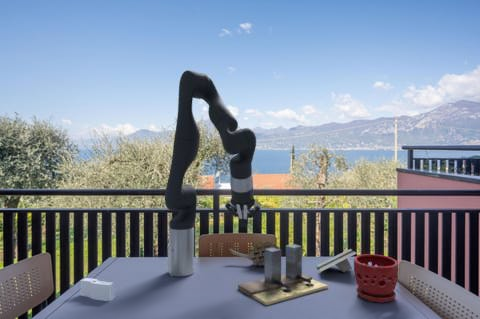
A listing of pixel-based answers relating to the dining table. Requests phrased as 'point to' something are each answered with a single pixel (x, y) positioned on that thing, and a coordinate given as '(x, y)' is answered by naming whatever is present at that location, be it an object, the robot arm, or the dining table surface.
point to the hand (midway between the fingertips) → (244, 225)
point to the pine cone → (257, 252)
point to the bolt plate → (289, 292)
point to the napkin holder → (97, 289)
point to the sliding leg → (273, 266)
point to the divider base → (289, 278)
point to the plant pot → (376, 277)
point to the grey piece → (338, 261)
